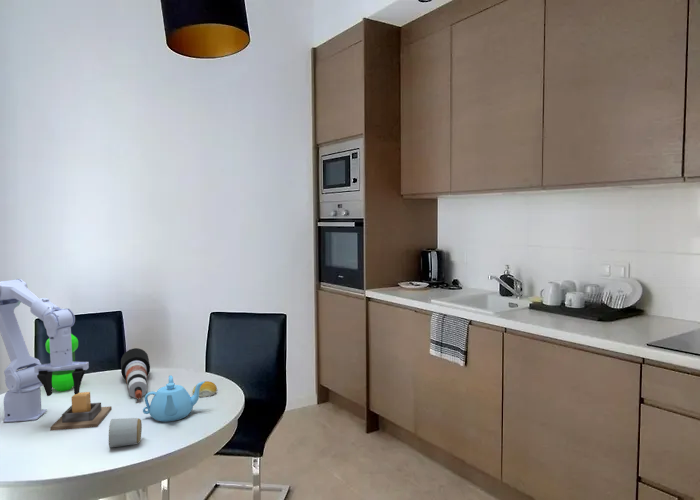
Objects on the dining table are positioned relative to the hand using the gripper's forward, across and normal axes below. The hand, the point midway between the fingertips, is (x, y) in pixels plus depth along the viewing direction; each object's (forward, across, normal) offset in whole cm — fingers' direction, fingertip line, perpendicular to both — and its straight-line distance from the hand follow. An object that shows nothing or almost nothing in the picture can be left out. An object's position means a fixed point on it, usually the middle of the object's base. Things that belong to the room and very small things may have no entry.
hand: (63, 394), depth 151 cm
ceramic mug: (+10, +22, -17) cm, 29 cm away
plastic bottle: (+10, -13, +35) cm, 39 cm away
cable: (+10, +13, +31) cm, 35 cm away
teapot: (+10, +32, +1) cm, 33 cm away
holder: (+9, +4, +3) cm, 11 cm away
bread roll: (+10, +39, +20) cm, 45 cm away
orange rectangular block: (+8, +4, +3) cm, 10 cm away
